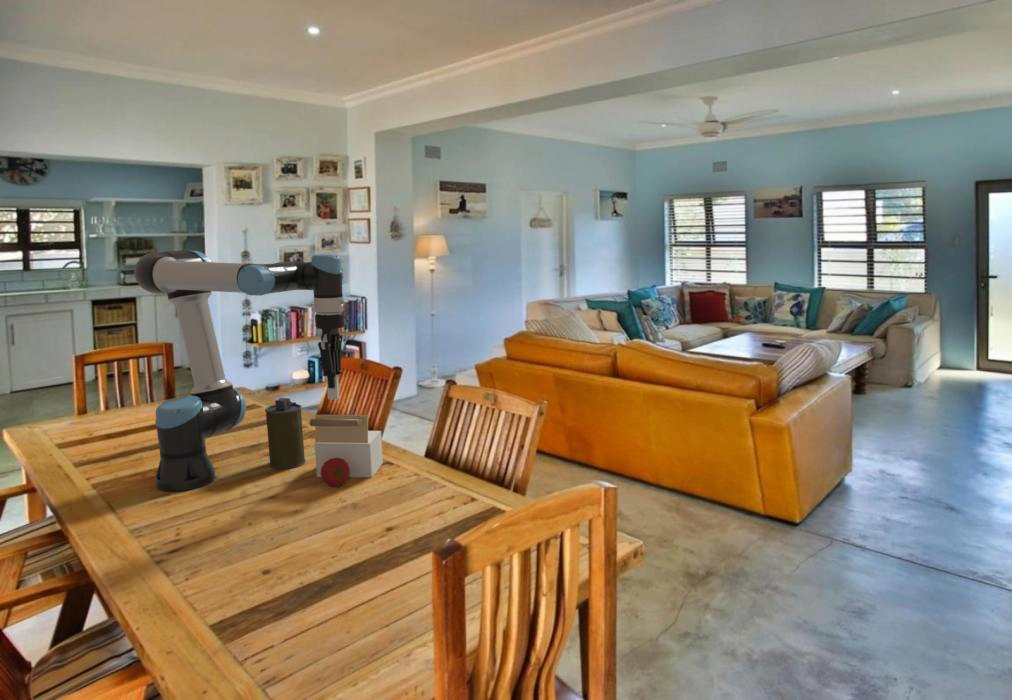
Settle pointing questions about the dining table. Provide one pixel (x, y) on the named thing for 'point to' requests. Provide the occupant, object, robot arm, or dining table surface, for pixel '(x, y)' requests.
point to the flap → (340, 428)
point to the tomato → (335, 472)
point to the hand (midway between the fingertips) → (333, 398)
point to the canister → (285, 434)
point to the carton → (353, 455)
